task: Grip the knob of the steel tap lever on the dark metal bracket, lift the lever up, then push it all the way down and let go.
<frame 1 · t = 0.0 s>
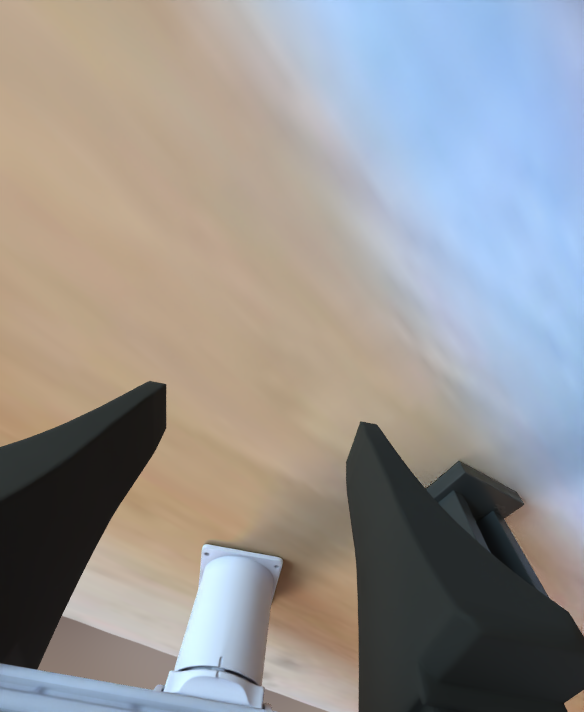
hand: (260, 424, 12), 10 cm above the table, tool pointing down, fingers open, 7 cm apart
tap bracket: (452, 504, 27), on the table
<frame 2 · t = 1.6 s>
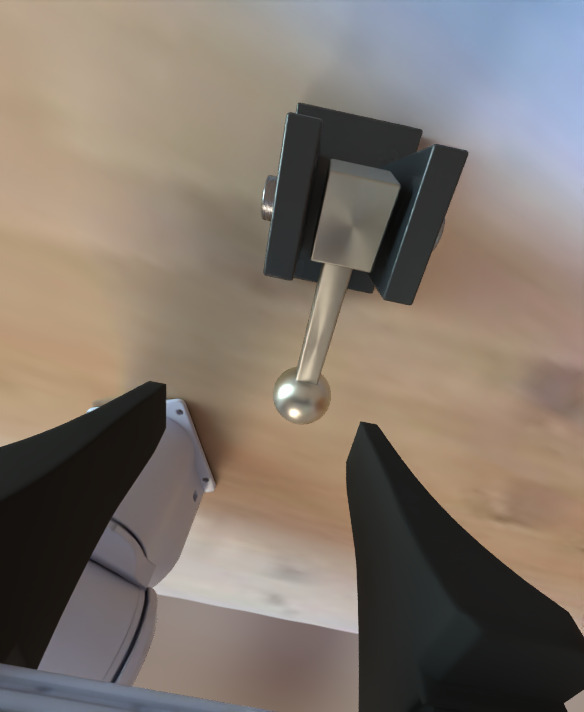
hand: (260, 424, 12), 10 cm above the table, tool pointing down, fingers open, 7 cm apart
tap lever: (321, 324, 14), point 7 cm above the table, hinge at -12.0°
tap bracket: (337, 207, 18), on the table
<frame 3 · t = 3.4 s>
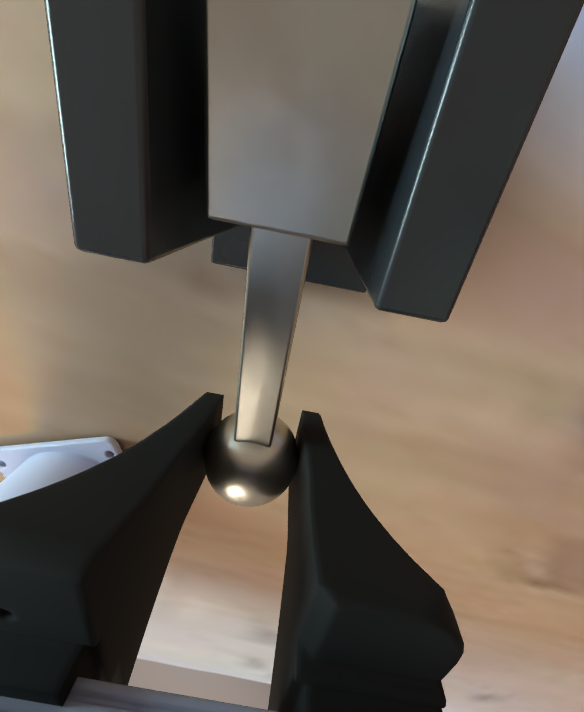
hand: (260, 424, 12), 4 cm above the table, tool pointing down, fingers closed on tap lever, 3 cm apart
tap lever: (266, 349, 8), point 7 cm above the table, hinge at -12.0°, touching gripper
tap bracket: (310, 160, 12), on the table
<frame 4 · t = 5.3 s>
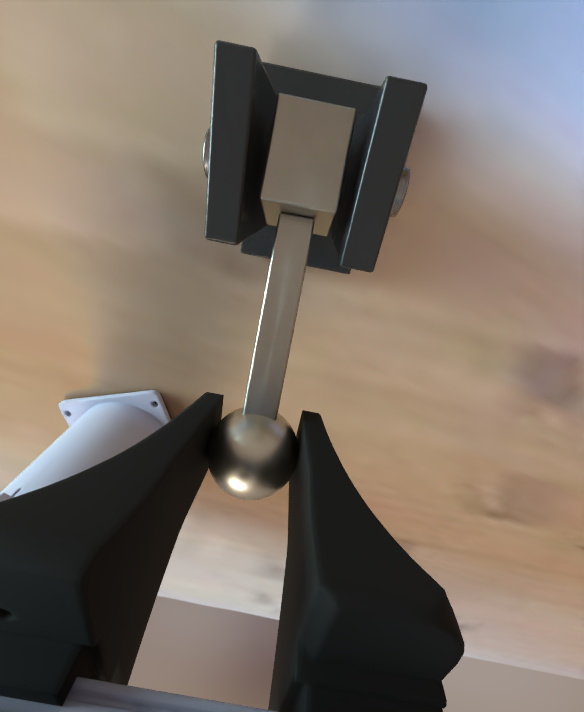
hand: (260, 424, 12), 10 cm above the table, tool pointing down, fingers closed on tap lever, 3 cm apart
tap lever: (278, 319, 10), point 9 cm above the table, hinge at 21.5°, touching gripper
tap bracket: (310, 181, 17), on the table
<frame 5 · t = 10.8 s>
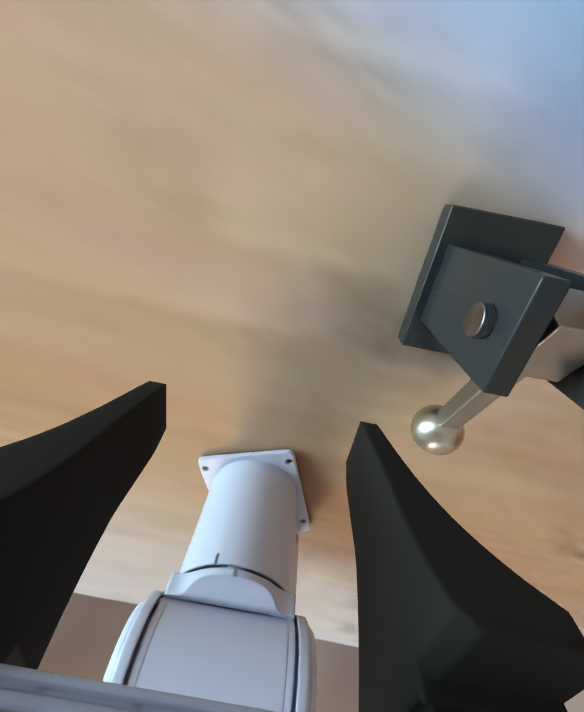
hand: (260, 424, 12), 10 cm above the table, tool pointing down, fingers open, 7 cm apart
tap lever: (479, 392, 16), point 5 cm above the table, hinge at -26.1°
tap bracket: (467, 286, 19), on the table
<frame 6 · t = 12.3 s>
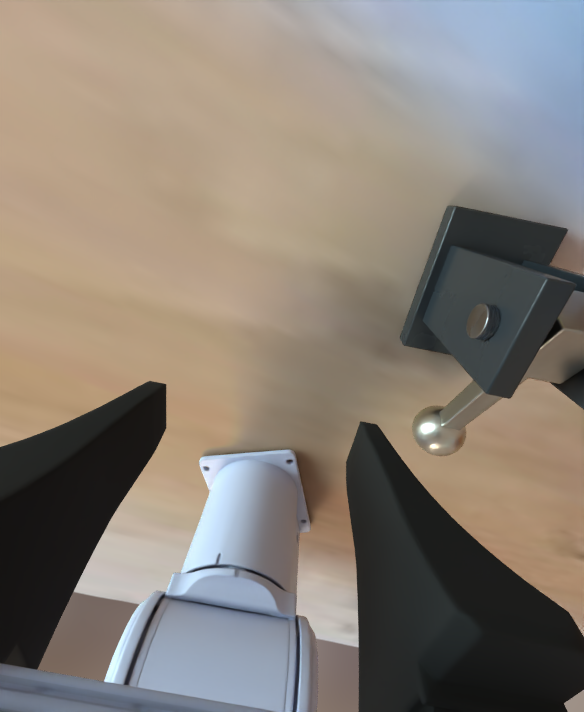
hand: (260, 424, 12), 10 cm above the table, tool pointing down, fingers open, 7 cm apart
tap lever: (481, 393, 16), point 5 cm above the table, hinge at -26.1°
tap bracket: (469, 287, 19), on the table
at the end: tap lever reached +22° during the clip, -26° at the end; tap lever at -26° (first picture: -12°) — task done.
